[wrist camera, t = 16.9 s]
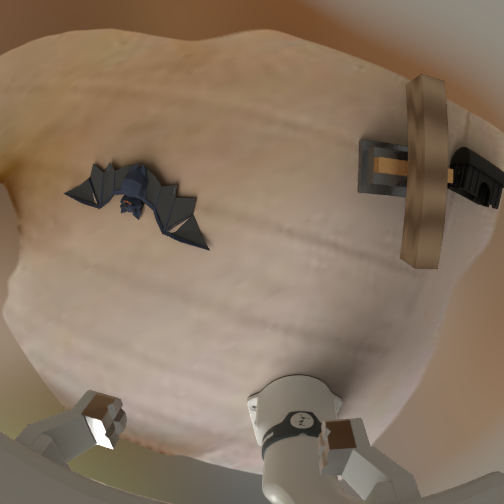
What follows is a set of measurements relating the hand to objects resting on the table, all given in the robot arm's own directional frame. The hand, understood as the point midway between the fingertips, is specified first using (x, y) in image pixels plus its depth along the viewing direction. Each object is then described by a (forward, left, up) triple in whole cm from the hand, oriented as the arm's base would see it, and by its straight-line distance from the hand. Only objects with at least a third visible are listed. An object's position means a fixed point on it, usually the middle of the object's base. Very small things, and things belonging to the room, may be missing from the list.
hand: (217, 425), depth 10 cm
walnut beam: (+12, -21, -29) cm, 38 cm away
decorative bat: (+7, +20, -38) cm, 44 cm away
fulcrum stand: (+12, -21, -37) cm, 44 cm away
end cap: (+13, -36, -37) cm, 53 cm away
